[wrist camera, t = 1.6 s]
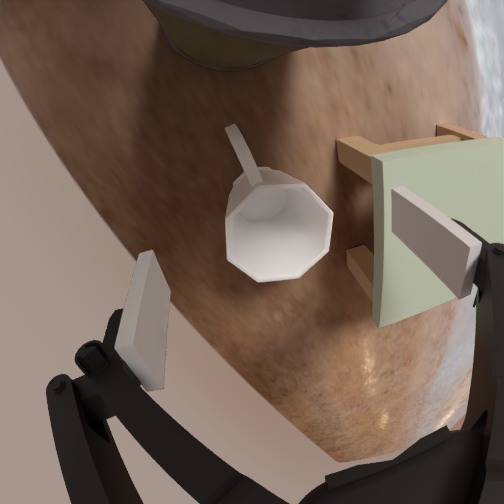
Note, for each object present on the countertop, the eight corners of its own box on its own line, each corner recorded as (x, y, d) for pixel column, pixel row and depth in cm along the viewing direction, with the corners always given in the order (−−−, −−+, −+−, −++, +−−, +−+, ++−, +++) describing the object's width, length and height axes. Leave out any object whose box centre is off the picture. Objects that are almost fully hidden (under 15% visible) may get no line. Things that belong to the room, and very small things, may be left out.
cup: (236, 241, 28) (249, 300, 21) (183, 139, 23) (175, 166, 16) (310, 209, 27) (346, 257, 20) (268, 101, 22) (298, 111, 15)
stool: (329, 134, 24) (382, 161, 17) (453, 118, 24) (516, 141, 17) (342, 271, 31) (379, 328, 24) (447, 238, 32) (493, 279, 24)
